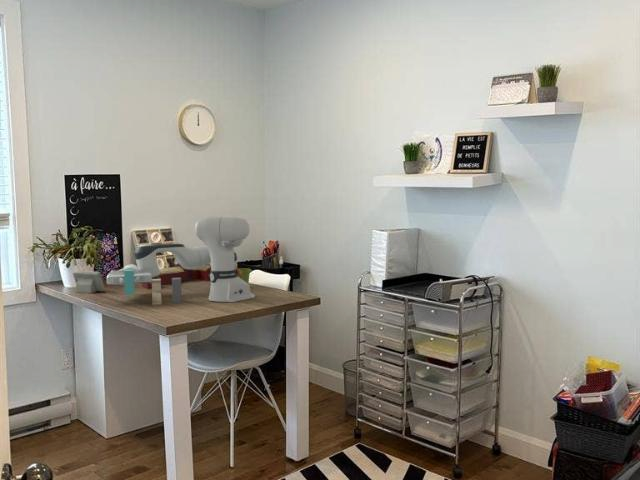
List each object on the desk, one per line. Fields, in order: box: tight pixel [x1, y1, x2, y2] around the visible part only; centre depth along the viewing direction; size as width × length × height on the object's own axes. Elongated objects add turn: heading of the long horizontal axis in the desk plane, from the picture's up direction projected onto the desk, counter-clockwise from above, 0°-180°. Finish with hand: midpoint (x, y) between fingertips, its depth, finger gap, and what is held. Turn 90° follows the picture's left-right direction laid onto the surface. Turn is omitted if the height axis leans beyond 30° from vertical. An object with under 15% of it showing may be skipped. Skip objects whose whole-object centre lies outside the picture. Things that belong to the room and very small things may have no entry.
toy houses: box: [141, 263, 211, 290], centre depth 340 cm, size 45×20×10 cm, turn 133°
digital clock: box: [72, 270, 106, 294], centre depth 313 cm, size 16×9×11 cm, turn 61°
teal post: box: [124, 269, 136, 296], centre depth 281 cm, size 4×4×11 cm
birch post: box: [151, 279, 162, 306], centre depth 283 cm, size 4×4×11 cm
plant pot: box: [235, 267, 252, 284], centre depth 328 cm, size 9×9×9 cm
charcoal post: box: [171, 278, 183, 304], centre depth 287 cm, size 4×4×11 cm
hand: (129, 281), depth 280 cm, fingers closed on teal post, 4 cm apart
